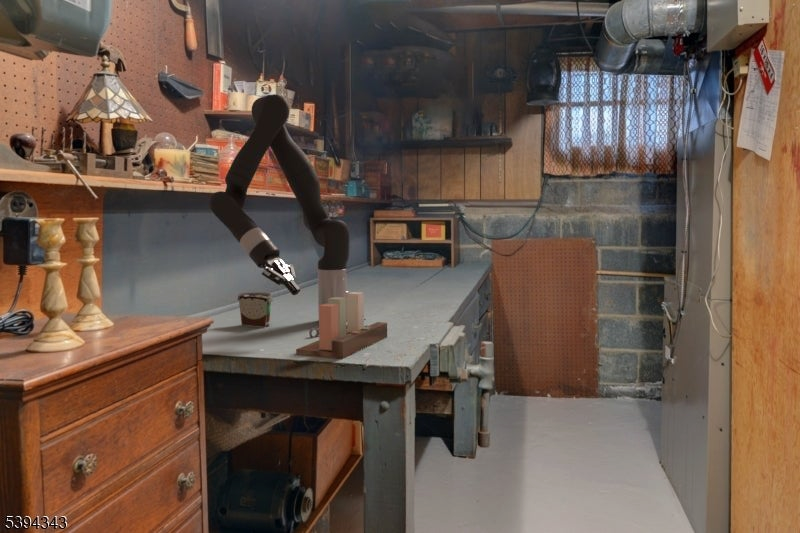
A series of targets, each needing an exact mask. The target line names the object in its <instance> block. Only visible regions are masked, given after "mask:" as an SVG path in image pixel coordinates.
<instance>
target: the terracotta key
mask: <svg viewBox="0 0 800 533" xmlns="http://www.w3.org/2000/svg"><path fill="white" fill-rule="evenodd" d="M318 329H319V335H318V337H319V349H322V350H332V341H333V340H335V339H338V304H323V305H319V312H318Z"/></svg>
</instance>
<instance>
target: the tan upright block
mask: <svg viewBox="0 0 800 533" xmlns="http://www.w3.org/2000/svg"><path fill="white" fill-rule="evenodd" d="M364 294H365V293H364V292H361V291H359V292H358V291H352V292H349V293H347V321H346V325H347V332H354V331H357V330H360V329H361V328H364V326H365V320H364V319H365V317H364V316H365V311H364V310H365V308H364V300H365V299H364V298H365V297H364Z"/></svg>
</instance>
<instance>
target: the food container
mask: <svg viewBox="0 0 800 533" xmlns="http://www.w3.org/2000/svg"><path fill="white" fill-rule="evenodd" d="M237 301H238V302H239V313H240V322H241V324H240V325H241V326H244V325H246V327H254V326H255V327H256V328H264V327H266V328H268V327H270V321H271V320H270V318H271V305H272V304H271V303H272V302H273V301H274V298H273V296H272V294H271V293H270V292H269V293H268V292H261V291H260V292H258V291H257V292H241V293H238V294H237ZM255 327H254V328H255Z"/></svg>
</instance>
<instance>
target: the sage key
mask: <svg viewBox="0 0 800 533" xmlns="http://www.w3.org/2000/svg"><path fill="white" fill-rule="evenodd" d="M328 304H338V338H340V337H343V336H345V335H346V325H347V321H346V298H341V297H333V298H329V299H328Z"/></svg>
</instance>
